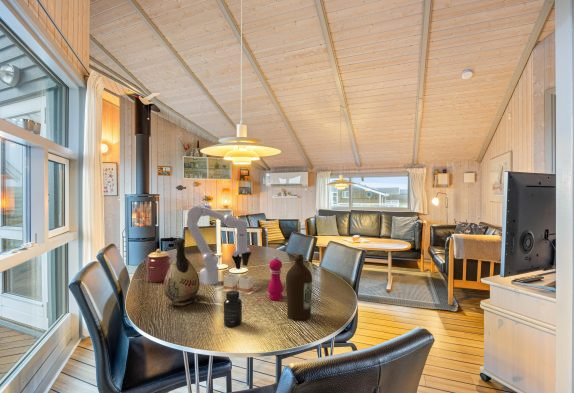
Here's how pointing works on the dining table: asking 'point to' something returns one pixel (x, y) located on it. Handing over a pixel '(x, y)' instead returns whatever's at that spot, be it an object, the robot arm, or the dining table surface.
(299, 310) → the olive oil
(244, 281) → the sleeve
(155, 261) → the canister
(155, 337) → the dining table surface
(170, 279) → the ceramic jug
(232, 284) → the seated sleeve
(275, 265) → the pepper mill
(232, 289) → the pin board
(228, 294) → the supplement bottle
